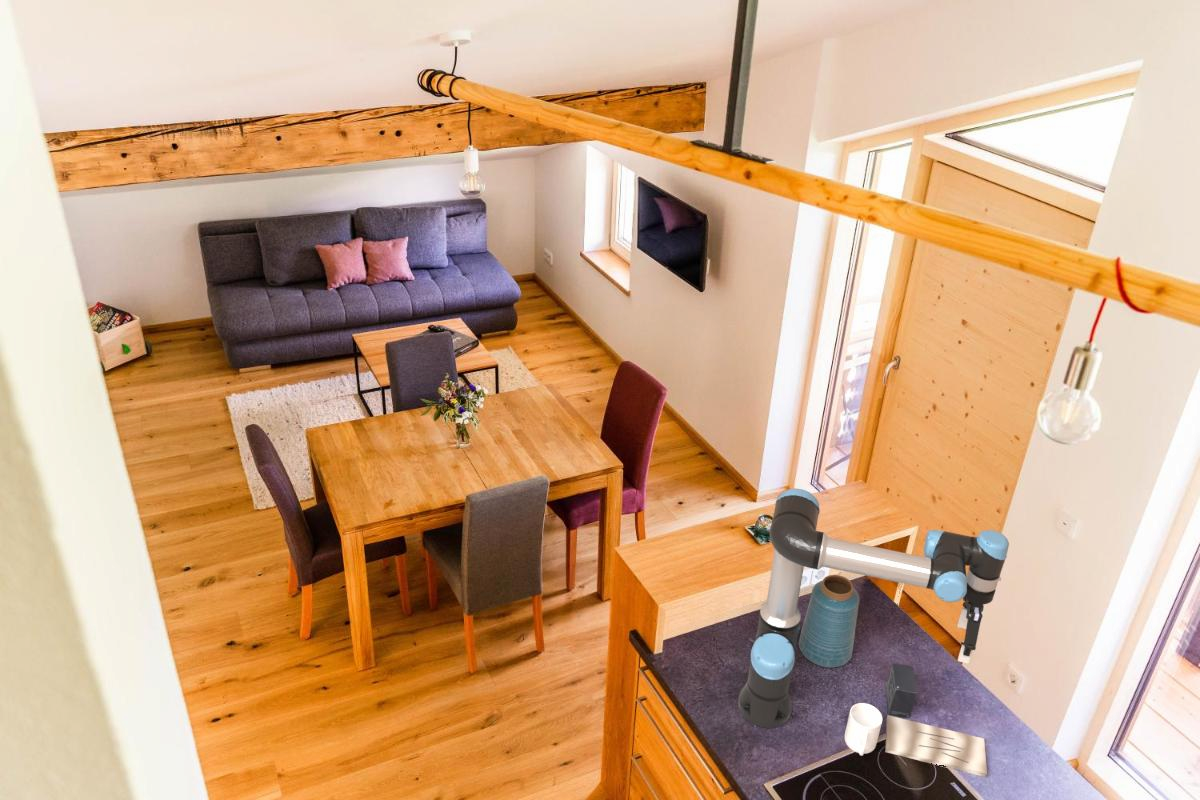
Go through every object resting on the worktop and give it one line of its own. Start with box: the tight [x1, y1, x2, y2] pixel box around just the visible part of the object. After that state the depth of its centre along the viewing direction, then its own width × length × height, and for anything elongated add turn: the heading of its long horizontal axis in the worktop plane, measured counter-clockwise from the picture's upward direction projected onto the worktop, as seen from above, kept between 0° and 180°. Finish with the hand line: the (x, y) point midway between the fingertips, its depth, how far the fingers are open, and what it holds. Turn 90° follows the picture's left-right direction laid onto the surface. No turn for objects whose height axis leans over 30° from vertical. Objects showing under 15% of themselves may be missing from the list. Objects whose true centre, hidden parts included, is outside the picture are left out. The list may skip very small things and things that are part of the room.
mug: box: [844, 702, 883, 757], centre depth 242 cm, size 9×12×11 cm
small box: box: [885, 662, 918, 719], centre depth 256 cm, size 11×6×10 cm, turn 168°
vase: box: [798, 574, 860, 668], centre depth 270 cm, size 16×16×27 cm
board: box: [884, 714, 988, 778], centre depth 245 cm, size 26×12×2 cm, turn 73°
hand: (962, 644), depth 242 cm, fingers open, 13 cm apart
